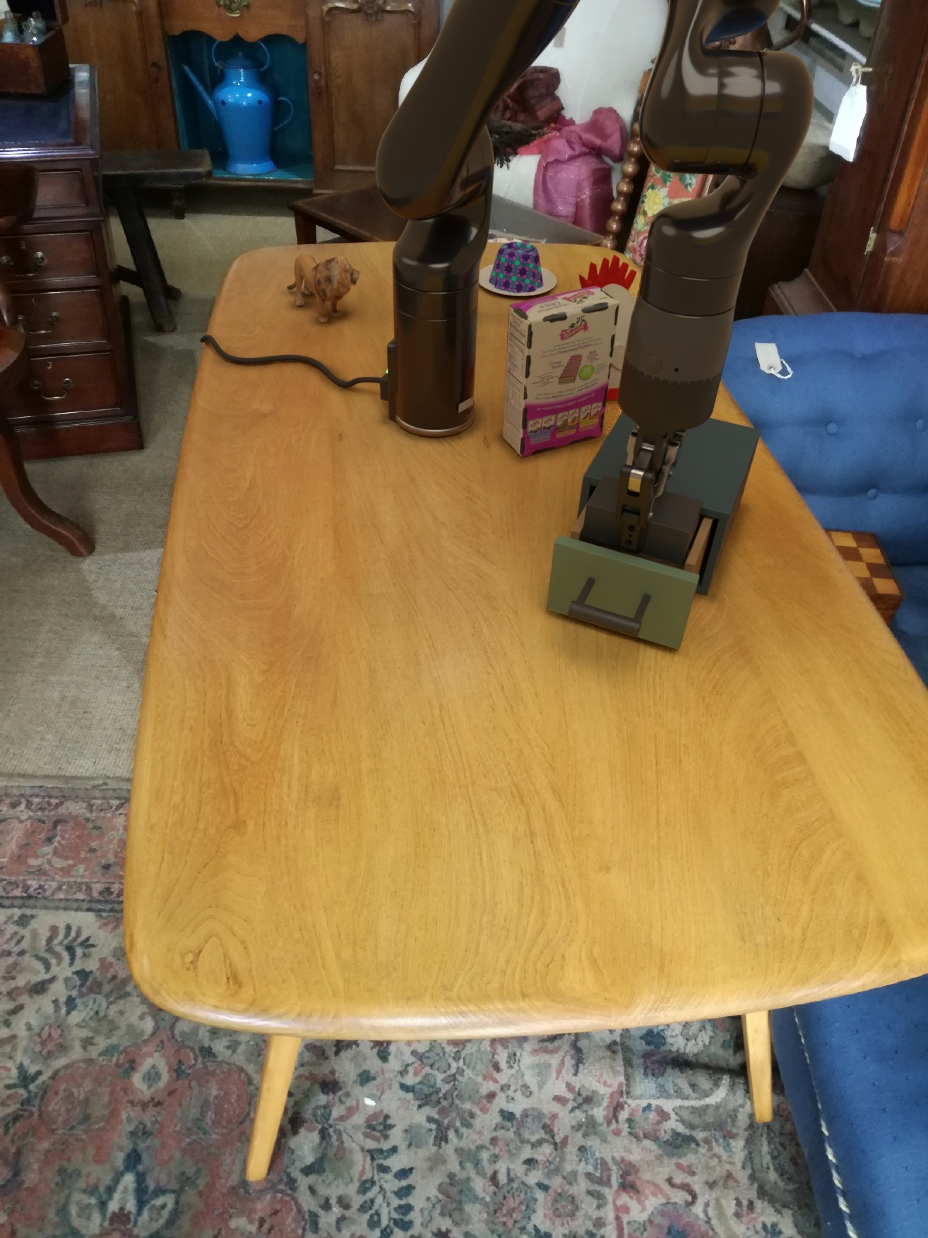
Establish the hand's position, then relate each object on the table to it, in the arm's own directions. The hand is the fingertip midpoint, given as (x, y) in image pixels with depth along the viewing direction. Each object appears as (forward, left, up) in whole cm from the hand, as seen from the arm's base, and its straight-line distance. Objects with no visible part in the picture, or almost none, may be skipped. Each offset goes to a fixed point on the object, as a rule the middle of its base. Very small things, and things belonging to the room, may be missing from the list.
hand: (638, 530), depth 82 cm
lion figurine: (-56, +41, -9) cm, 70 cm away
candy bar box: (-16, +24, -9) cm, 30 cm away
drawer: (0, 0, -8) cm, 8 cm away
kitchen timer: (-16, +41, -9) cm, 45 cm away
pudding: (-35, +62, -9) cm, 72 cm away
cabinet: (0, +12, -8) cm, 15 cm away
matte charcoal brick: (0, 0, 0) cm, 0 cm away
